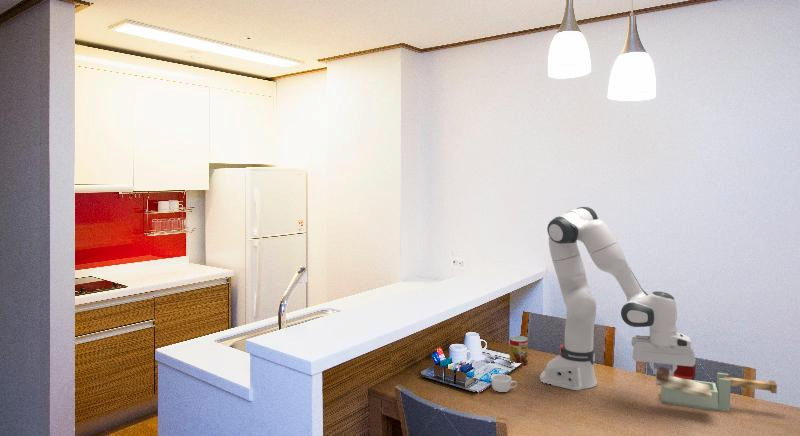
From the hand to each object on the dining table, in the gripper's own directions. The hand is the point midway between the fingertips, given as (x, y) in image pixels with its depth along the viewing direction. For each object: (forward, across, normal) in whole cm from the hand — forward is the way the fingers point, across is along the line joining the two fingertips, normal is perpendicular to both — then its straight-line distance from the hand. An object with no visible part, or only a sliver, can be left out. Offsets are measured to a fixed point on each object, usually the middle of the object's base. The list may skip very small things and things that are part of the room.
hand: (663, 375), depth 195 cm
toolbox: (+13, +10, +11) cm, 20 cm away
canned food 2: (+14, +8, +28) cm, 32 cm away
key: (+5, +28, +11) cm, 30 cm away
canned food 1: (+12, -58, +26) cm, 65 cm away
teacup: (+12, -57, -5) cm, 58 cm away
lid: (+4, +6, 0) cm, 7 cm away
